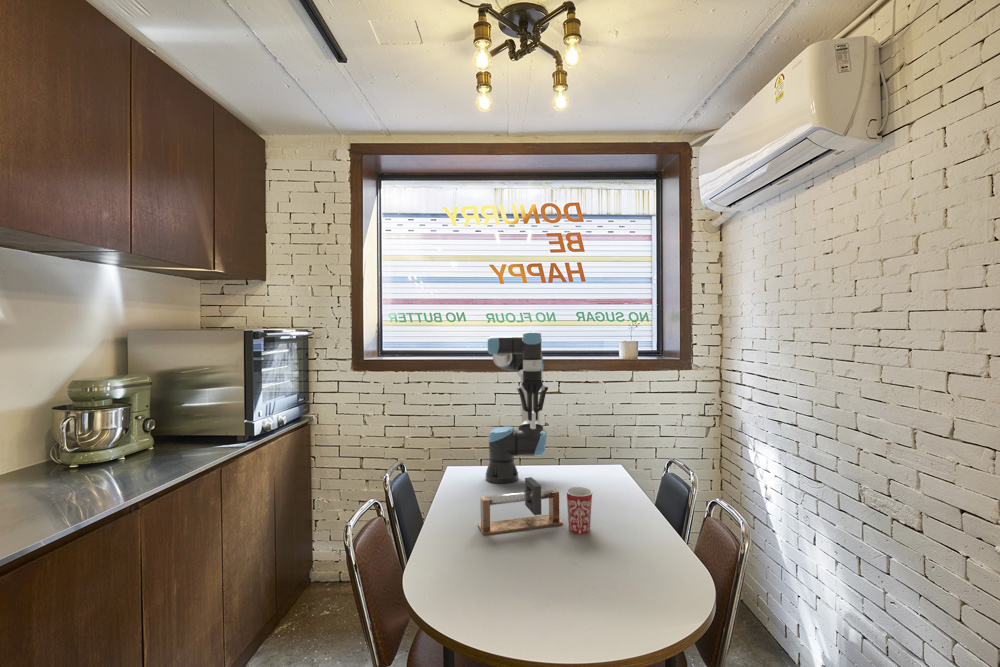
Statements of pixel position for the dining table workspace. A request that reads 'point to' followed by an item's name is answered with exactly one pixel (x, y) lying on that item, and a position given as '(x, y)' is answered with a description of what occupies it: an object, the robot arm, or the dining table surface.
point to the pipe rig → (519, 523)
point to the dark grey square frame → (533, 496)
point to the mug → (579, 509)
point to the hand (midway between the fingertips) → (532, 428)
